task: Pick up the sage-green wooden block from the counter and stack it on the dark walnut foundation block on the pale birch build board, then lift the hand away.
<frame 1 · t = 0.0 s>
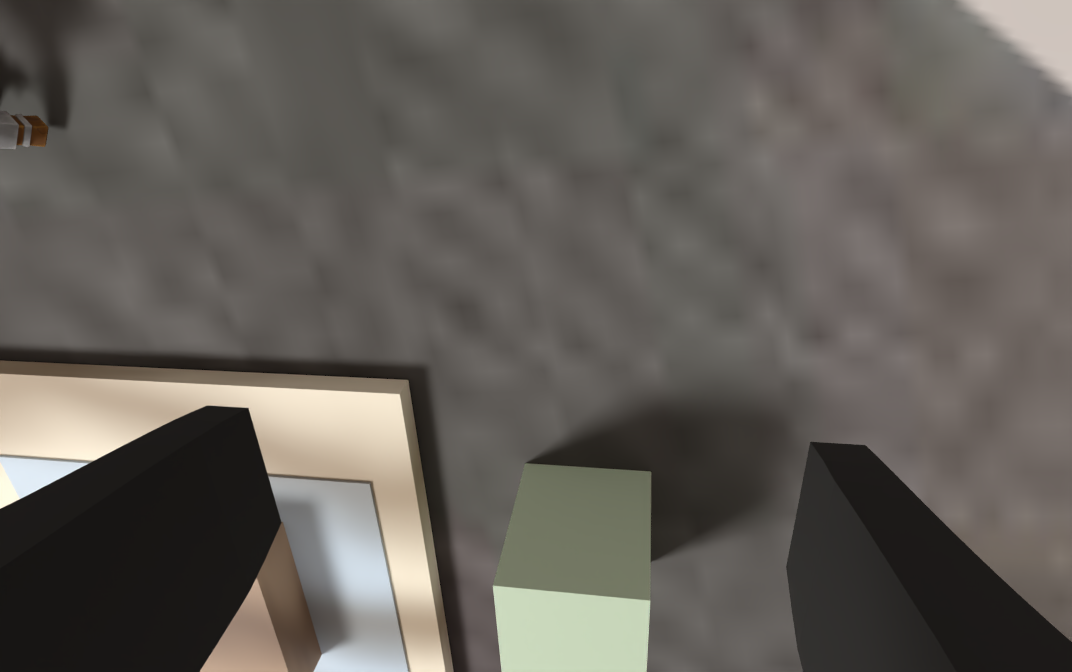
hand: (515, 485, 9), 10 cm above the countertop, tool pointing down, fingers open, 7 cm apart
green block: (587, 514, 22), on the countertop
build board: (230, 565, 26), on the countertop
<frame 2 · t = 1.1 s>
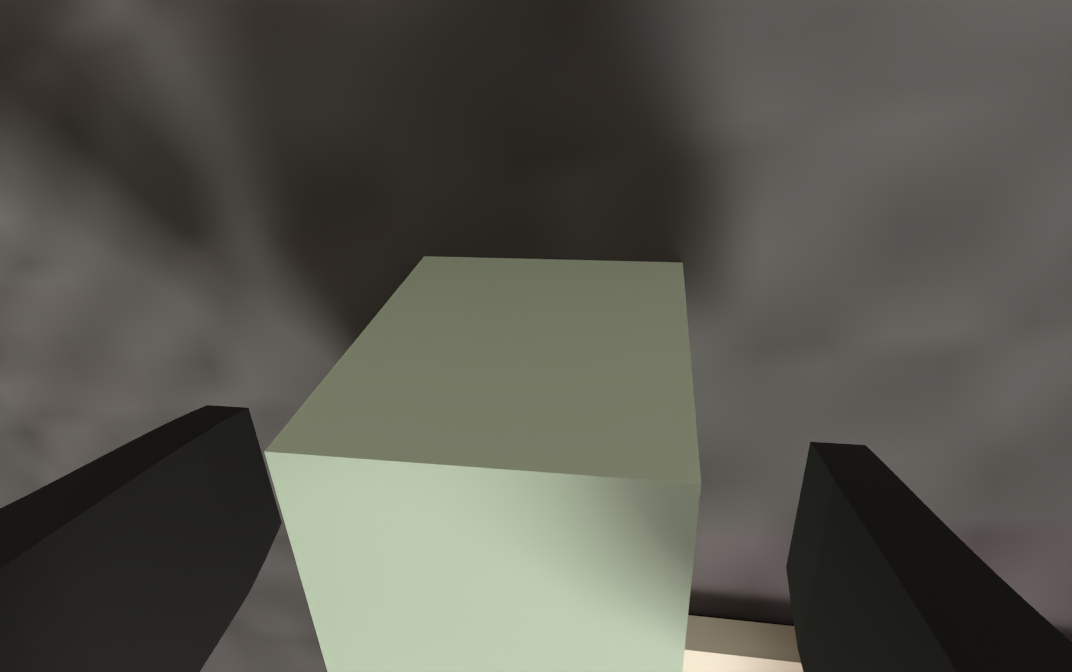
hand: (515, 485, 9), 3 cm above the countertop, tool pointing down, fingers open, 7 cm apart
green block: (553, 369, 11), on the countertop
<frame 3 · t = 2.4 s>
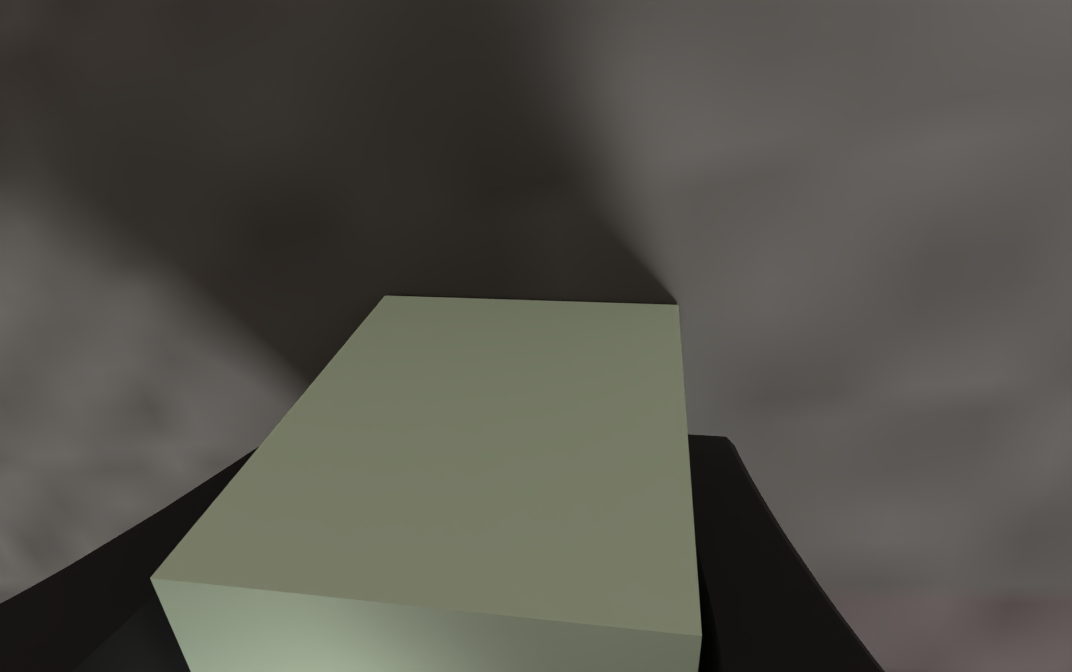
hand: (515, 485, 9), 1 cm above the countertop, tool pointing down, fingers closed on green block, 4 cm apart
green block: (532, 422, 10), on the countertop, touching gripper
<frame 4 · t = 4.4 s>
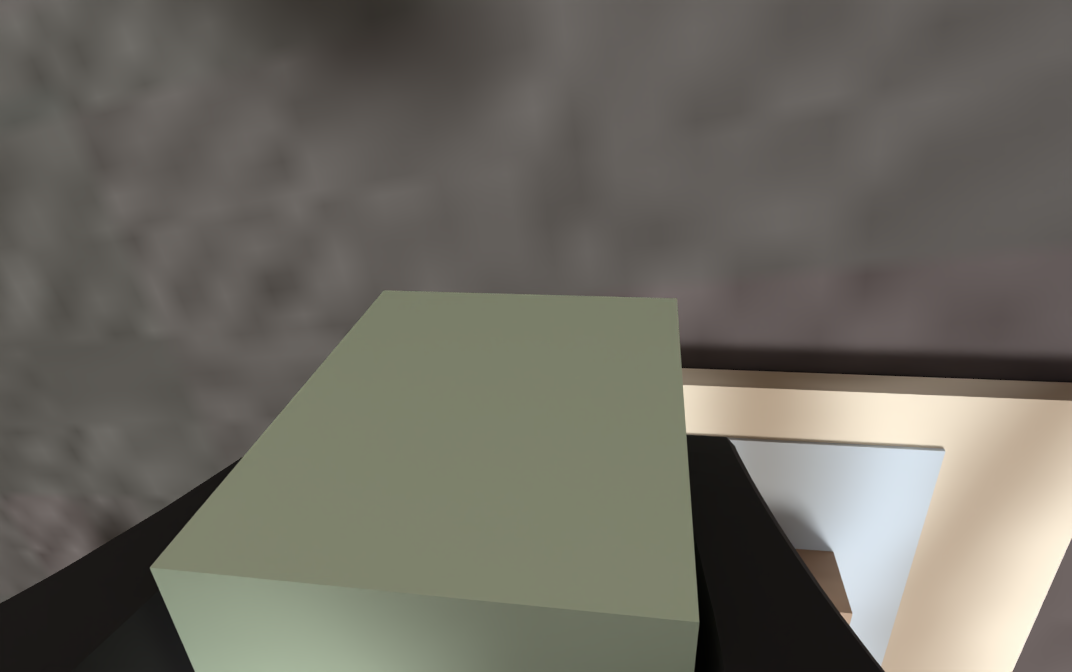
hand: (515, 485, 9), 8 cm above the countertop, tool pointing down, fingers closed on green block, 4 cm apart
green block: (531, 416, 10), point 7 cm above the countertop, touching gripper
build board: (690, 602, 21), on the countertop
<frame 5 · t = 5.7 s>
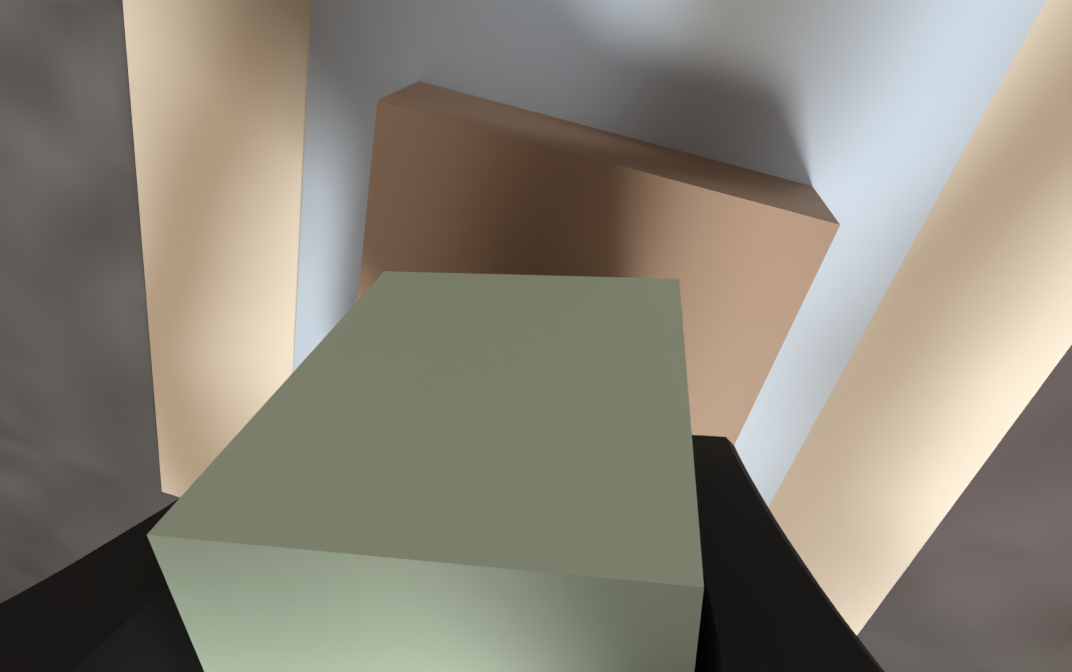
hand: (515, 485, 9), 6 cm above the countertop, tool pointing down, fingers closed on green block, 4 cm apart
green block: (532, 399, 10), point 5 cm above the countertop, touching gripper
build board: (570, 289, 14), on the countertop
when the fingers open (5 cm above the countertop, at t = 6.6 s): green block stays where it is, resting on build board.
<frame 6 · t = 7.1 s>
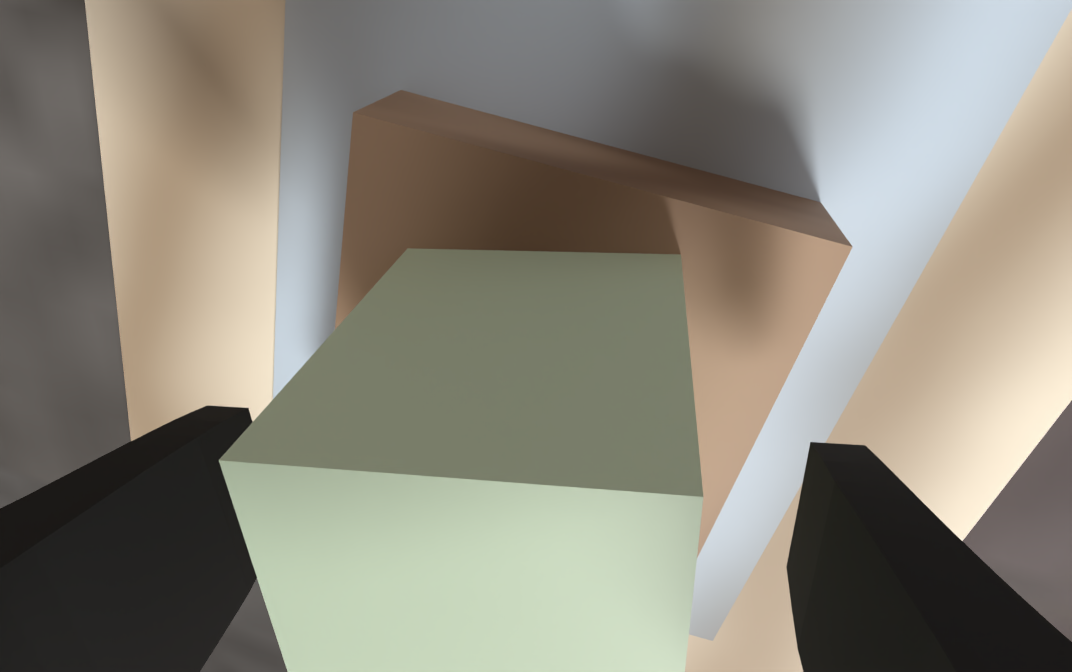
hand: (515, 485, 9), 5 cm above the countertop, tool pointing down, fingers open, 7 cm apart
green block: (544, 369, 11), point 3 cm above the countertop, touching build board
build board: (563, 308, 13), on the countertop
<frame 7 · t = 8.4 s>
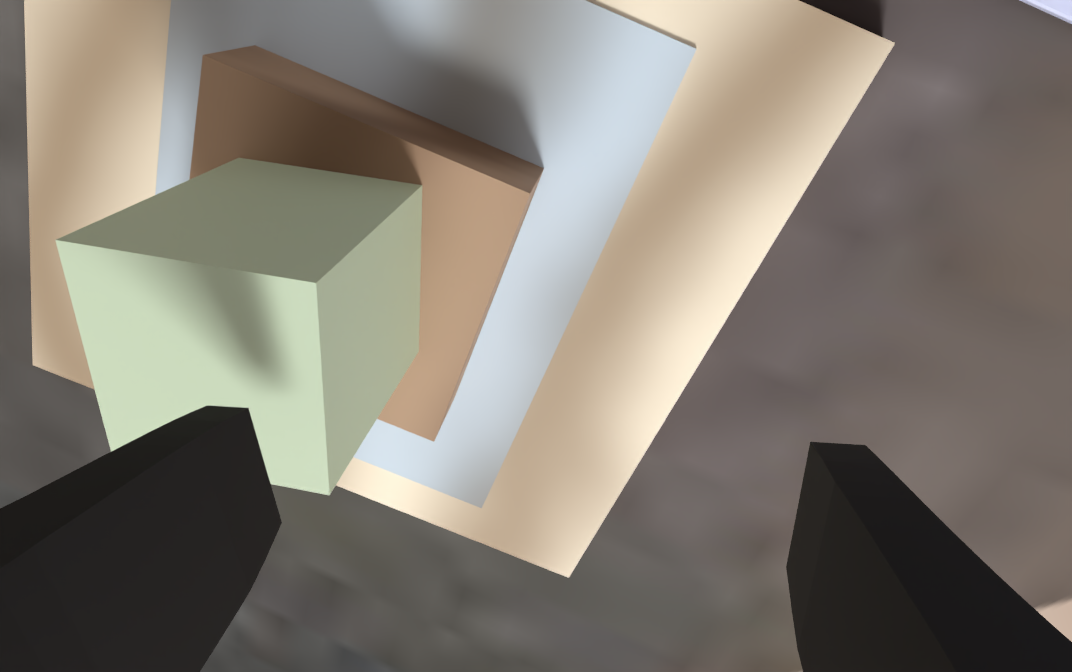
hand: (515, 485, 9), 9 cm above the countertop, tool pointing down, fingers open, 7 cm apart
green block: (333, 259, 15), point 3 cm above the countertop, touching build board
build board: (378, 229, 18), on the countertop
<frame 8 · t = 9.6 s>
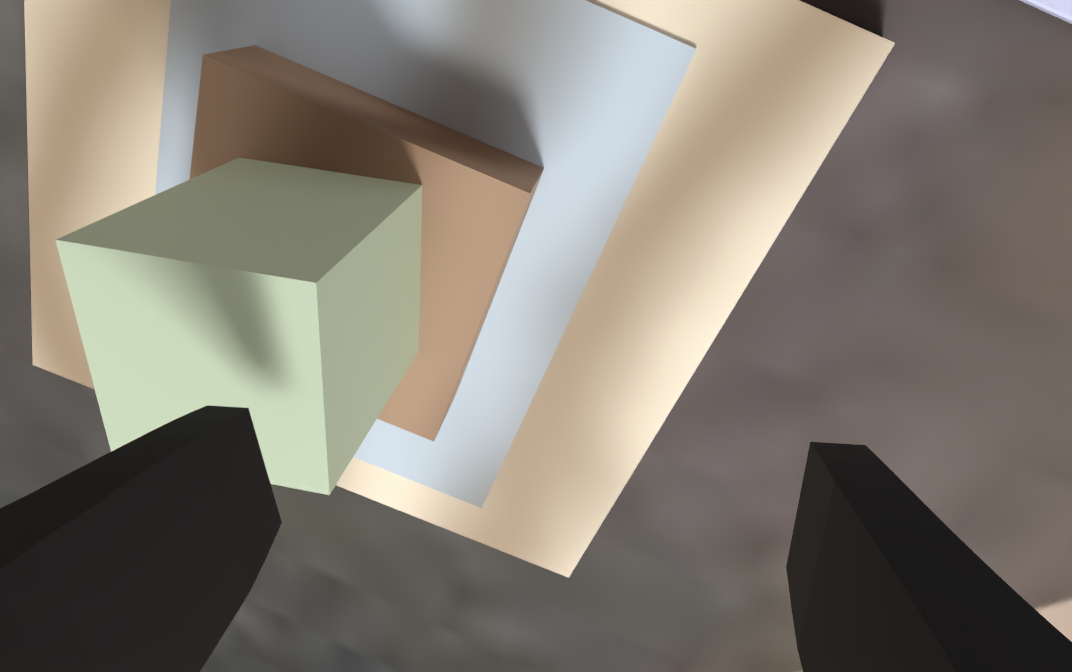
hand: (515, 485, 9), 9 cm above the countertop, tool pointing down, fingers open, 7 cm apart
green block: (333, 259, 15), point 3 cm above the countertop, touching build board
build board: (378, 229, 18), on the countertop
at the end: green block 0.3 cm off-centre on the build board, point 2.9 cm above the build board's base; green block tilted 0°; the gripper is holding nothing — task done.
